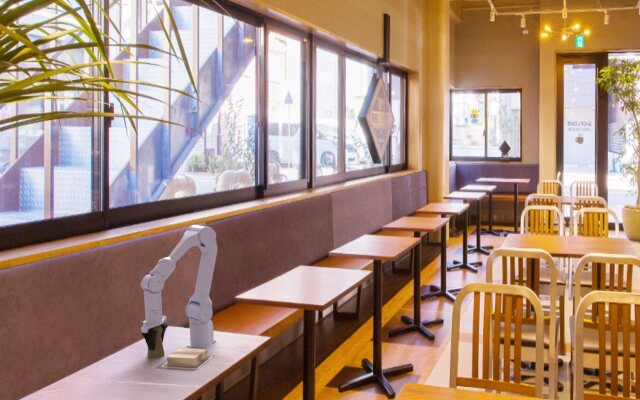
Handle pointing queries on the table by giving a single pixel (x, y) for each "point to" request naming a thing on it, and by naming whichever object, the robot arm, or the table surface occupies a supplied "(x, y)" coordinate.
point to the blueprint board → (164, 366)
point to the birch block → (187, 357)
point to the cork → (157, 345)
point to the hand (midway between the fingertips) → (155, 347)
